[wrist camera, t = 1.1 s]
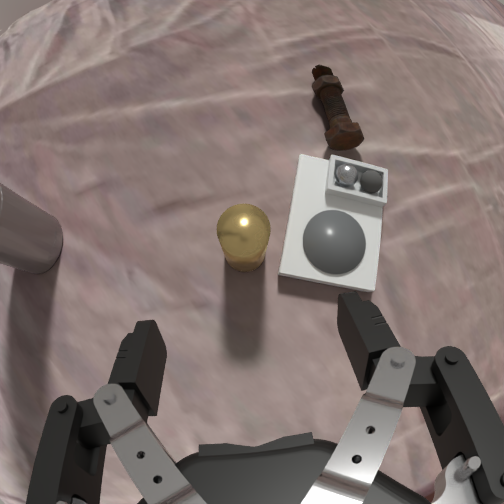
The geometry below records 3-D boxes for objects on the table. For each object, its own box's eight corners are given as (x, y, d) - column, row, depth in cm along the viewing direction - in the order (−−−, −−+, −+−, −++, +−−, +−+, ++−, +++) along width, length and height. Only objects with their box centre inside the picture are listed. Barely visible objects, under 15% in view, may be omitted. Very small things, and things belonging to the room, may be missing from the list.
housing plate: (277, 274, 38) (280, 270, 35) (298, 160, 42) (301, 147, 38) (368, 292, 38) (379, 289, 34) (378, 180, 41) (388, 169, 38)
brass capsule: (220, 267, 39) (211, 249, 29) (229, 229, 40) (223, 199, 30) (260, 275, 38) (264, 260, 29) (268, 236, 39) (274, 209, 30)
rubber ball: (356, 193, 39) (363, 184, 36) (357, 173, 39) (364, 163, 36) (377, 199, 39) (385, 190, 36) (378, 179, 39) (386, 169, 36)
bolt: (321, 84, 47) (344, 155, 44) (298, 74, 45) (319, 147, 41) (343, 65, 43) (372, 136, 39) (320, 53, 40) (348, 126, 36)
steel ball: (331, 187, 39) (337, 177, 36) (333, 167, 39) (339, 157, 36) (353, 193, 39) (360, 183, 36) (354, 173, 39) (361, 162, 36)
